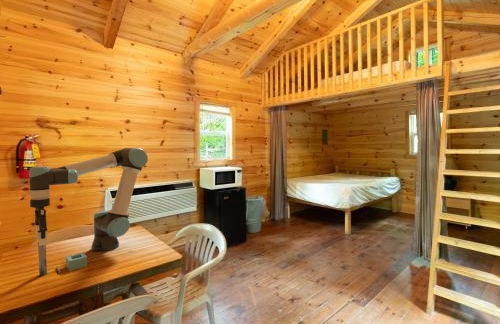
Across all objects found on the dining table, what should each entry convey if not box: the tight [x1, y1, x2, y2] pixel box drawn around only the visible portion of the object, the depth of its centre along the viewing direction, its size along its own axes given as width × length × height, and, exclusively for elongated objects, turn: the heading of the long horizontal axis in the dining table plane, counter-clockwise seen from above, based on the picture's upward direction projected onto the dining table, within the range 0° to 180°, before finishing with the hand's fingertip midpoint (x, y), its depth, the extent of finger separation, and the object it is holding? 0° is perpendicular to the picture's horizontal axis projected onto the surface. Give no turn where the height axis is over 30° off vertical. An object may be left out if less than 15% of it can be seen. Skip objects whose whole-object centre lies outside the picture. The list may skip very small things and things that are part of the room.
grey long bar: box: [37, 241, 48, 277], centre depth 129 cm, size 3×3×17 cm
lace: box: [55, 266, 62, 274], centre depth 133 cm, size 8×1×1 cm, turn 45°
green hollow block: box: [65, 252, 88, 272], centre depth 138 cm, size 8×8×5 cm
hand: (41, 241), depth 128 cm, fingers open, 13 cm apart
